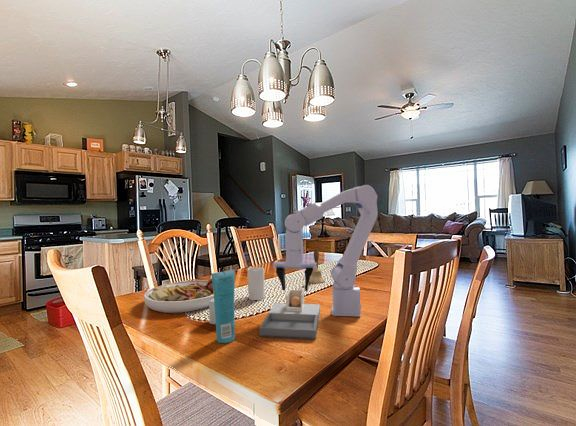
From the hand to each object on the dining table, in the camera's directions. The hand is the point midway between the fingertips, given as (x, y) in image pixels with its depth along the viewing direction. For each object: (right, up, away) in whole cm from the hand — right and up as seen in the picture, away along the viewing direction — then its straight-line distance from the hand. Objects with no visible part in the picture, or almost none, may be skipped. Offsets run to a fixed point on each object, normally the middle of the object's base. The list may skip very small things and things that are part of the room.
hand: (295, 289), depth 102 cm
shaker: (0, -6, 0) cm, 6 cm away
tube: (-20, -10, -18) cm, 28 cm away
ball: (0, -4, +1) cm, 4 cm away
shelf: (0, -9, -1) cm, 9 cm away
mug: (-16, -9, +21) cm, 28 cm away
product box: (-24, -9, -4) cm, 26 cm away
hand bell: (+12, -7, +45) cm, 47 cm away
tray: (-2, -9, -12) cm, 15 cm away
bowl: (-43, -10, +17) cm, 47 cm away
